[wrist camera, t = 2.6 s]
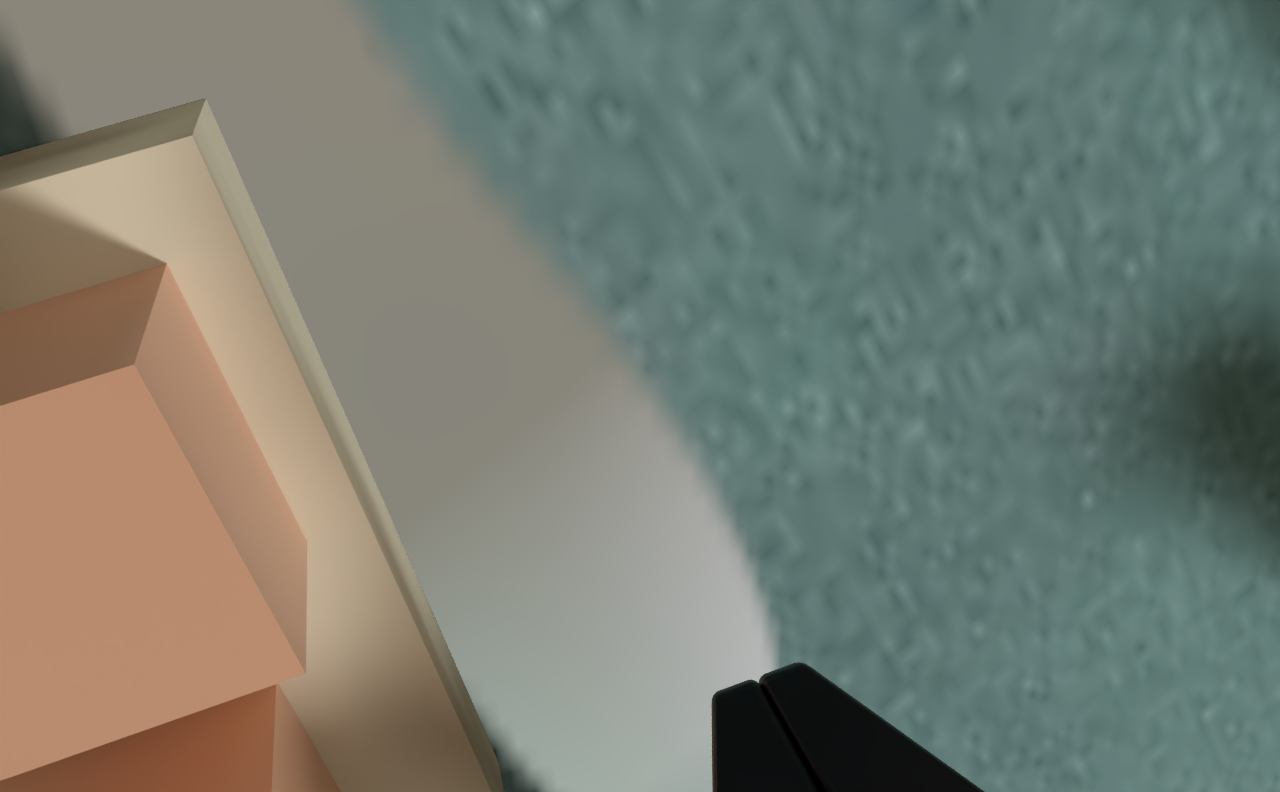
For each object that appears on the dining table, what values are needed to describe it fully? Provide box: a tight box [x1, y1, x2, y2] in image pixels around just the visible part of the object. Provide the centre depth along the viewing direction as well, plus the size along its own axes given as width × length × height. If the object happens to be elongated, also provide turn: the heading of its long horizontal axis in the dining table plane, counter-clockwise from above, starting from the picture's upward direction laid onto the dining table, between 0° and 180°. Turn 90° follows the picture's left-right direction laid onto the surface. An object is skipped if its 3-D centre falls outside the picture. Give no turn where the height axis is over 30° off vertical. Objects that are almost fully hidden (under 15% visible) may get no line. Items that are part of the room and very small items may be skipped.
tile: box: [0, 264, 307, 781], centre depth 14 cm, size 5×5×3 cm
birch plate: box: [0, 98, 504, 792], centre depth 18 cm, size 10×15×2 cm, turn 12°
